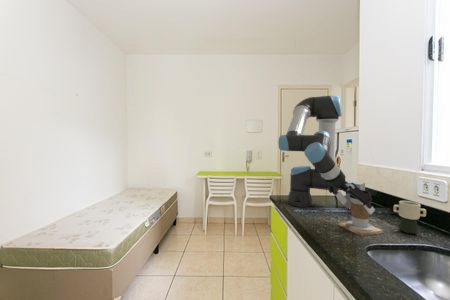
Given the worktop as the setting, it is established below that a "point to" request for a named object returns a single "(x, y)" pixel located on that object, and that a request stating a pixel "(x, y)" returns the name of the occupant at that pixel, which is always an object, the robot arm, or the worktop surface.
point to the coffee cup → (359, 212)
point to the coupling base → (360, 228)
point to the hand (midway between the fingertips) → (357, 207)
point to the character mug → (409, 215)
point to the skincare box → (348, 203)
